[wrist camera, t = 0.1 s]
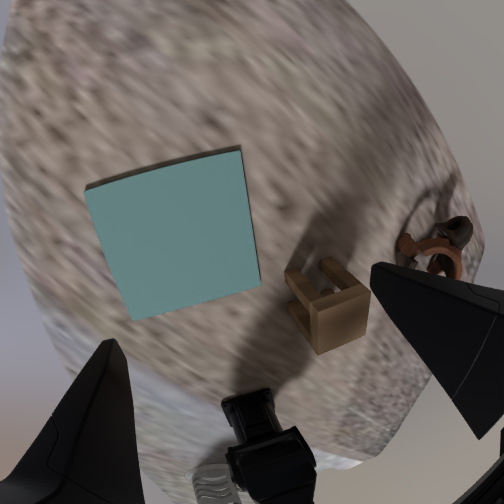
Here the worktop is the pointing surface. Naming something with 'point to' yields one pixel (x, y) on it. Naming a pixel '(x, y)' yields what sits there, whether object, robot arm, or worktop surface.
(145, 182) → the mat
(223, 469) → the french press
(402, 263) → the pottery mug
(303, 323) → the brown u-shaped block
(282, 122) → the worktop surface
